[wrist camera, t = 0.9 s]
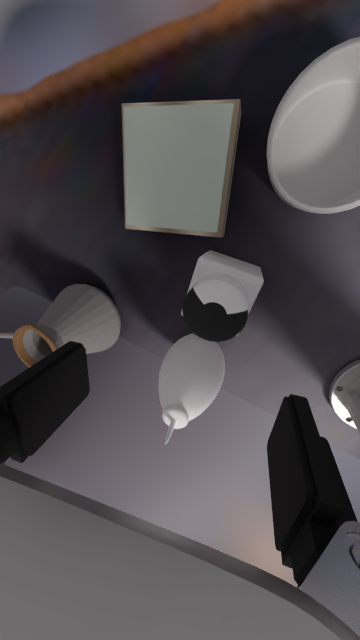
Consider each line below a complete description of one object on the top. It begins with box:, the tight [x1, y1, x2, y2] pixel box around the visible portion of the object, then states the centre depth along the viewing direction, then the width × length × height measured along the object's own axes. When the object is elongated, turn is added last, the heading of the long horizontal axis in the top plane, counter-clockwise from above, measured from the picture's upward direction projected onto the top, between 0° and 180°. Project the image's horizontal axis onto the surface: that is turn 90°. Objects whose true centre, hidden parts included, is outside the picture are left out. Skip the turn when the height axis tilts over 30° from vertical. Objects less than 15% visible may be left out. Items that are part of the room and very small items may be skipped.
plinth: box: [122, 99, 241, 237], centre depth 26 cm, size 12×12×4 cm
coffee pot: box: [0, 284, 121, 368], centre depth 33 cm, size 21×12×15 cm, turn 85°
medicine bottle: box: [181, 250, 264, 342], centre depth 26 cm, size 7×7×12 cm
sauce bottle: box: [159, 333, 225, 444], centre depth 27 cm, size 8×8×18 cm
